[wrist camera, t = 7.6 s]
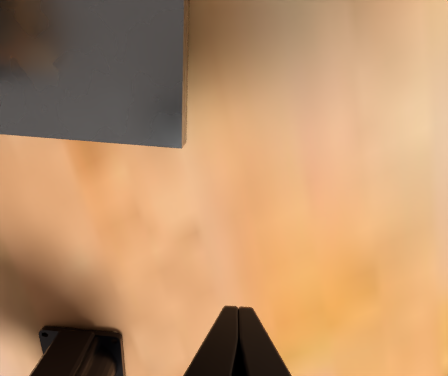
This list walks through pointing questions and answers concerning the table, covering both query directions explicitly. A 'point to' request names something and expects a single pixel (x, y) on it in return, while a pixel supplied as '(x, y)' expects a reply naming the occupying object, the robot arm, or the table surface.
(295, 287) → the table surface
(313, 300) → the table surface
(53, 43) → the bearing frame
